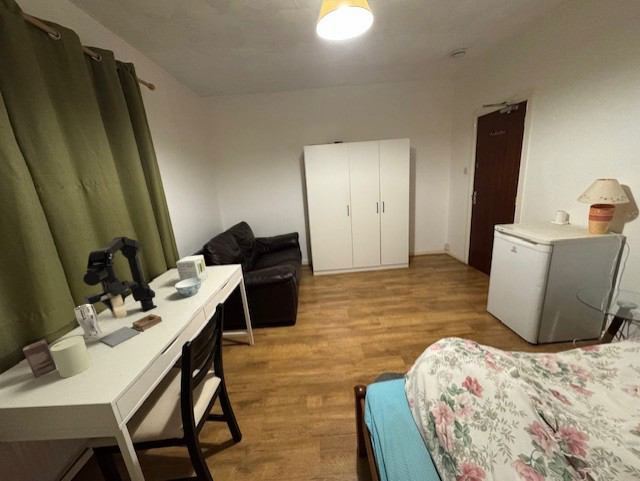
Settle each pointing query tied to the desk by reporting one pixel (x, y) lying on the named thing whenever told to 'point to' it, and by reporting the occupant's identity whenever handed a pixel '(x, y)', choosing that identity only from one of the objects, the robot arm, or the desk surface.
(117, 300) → the peg
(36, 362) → the box
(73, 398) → the desk surface
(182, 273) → the supplement box
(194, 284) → the chinaware
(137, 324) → the collar
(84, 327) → the beer glass
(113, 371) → the desk surface
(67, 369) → the can
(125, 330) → the rubber mat
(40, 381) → the desk surface
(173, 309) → the desk surface
